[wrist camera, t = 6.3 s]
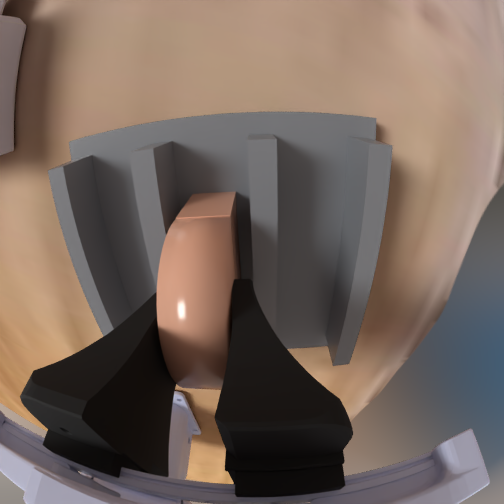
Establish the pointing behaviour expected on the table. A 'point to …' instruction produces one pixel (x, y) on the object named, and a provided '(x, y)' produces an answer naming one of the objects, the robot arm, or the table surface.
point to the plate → (199, 290)
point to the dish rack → (248, 213)
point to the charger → (9, 74)
